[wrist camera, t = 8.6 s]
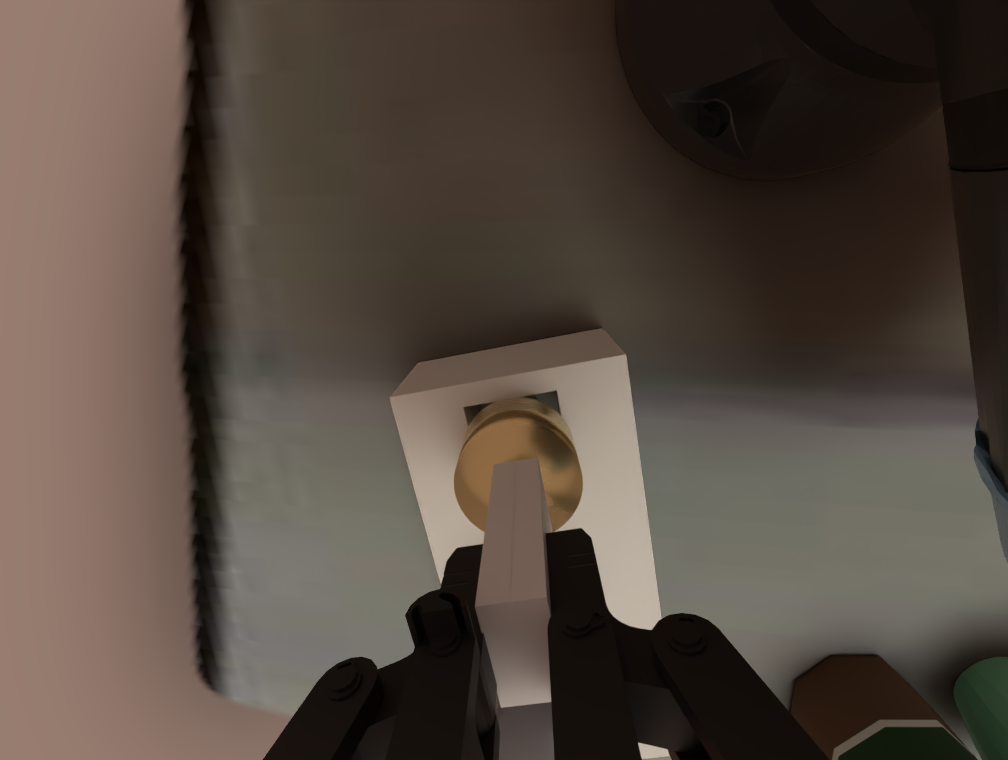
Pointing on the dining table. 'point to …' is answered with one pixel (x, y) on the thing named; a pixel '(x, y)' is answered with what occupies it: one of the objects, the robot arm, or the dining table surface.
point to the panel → (597, 437)
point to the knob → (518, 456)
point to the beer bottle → (870, 714)
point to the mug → (985, 706)
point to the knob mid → (525, 732)
